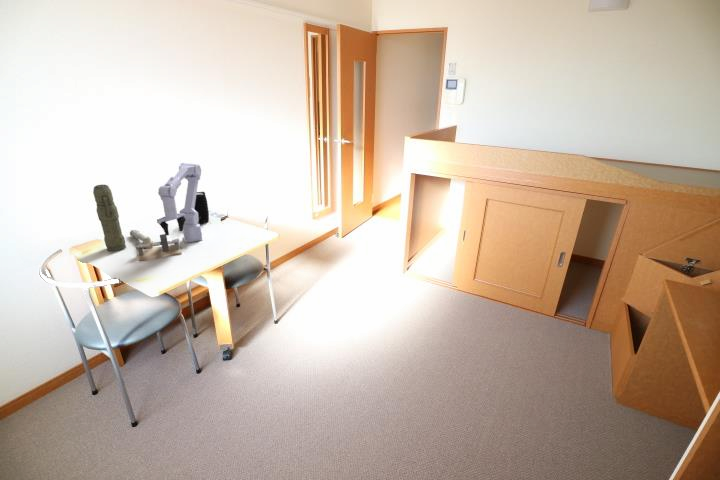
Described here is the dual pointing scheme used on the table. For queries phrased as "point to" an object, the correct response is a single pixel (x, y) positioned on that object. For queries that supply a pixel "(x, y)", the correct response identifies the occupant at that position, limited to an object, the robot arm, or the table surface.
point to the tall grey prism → (164, 242)
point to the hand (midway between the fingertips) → (174, 232)
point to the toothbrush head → (141, 237)
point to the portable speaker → (202, 207)
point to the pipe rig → (157, 250)
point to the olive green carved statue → (109, 218)
